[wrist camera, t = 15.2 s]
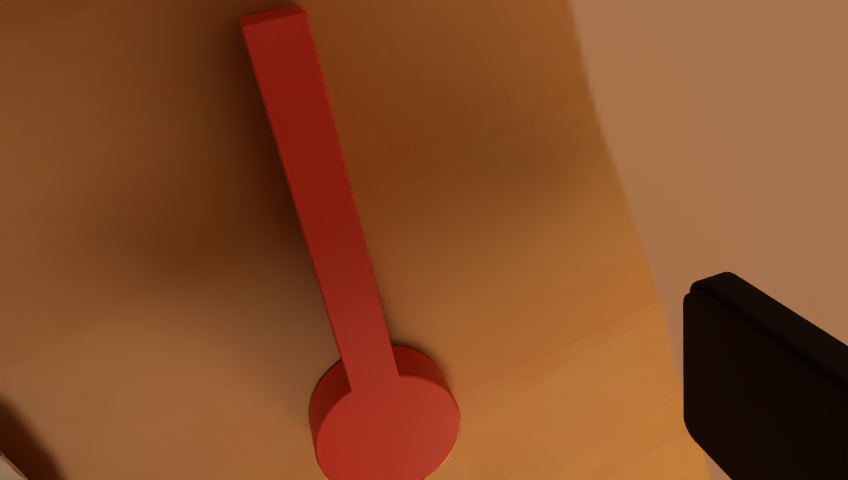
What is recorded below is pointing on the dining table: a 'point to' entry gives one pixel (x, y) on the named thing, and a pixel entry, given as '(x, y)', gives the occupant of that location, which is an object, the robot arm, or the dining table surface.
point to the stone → (9, 470)
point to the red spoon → (345, 280)
